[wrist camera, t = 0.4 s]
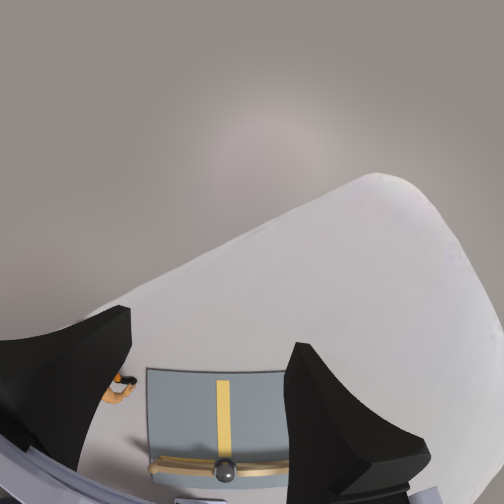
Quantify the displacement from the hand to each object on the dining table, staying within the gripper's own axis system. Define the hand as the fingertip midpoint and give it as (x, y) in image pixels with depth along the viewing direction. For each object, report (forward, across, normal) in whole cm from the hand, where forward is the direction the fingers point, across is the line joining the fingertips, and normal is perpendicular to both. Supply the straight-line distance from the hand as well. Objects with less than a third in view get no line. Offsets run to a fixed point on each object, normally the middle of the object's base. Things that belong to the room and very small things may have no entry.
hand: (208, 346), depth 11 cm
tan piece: (+10, -11, +29) cm, 33 cm away
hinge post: (+10, -4, +31) cm, 33 cm away
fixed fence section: (+9, +2, +31) cm, 33 cm away
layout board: (+14, -5, +27) cm, 31 cm away
